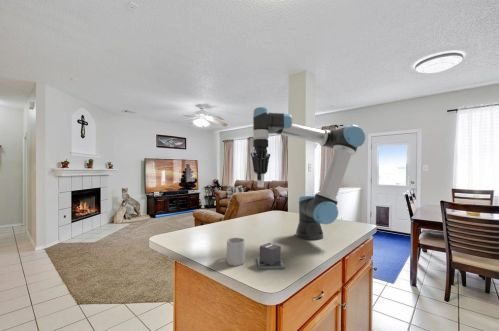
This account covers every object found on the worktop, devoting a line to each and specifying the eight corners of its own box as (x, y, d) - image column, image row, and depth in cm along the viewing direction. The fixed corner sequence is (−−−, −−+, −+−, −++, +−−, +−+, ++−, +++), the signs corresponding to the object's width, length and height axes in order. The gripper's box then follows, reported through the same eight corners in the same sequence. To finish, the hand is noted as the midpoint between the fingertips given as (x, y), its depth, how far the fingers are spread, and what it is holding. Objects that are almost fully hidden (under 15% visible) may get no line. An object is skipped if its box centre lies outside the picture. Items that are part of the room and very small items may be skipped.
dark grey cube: (268, 257, 95) (268, 242, 95) (280, 261, 91) (280, 245, 91) (259, 261, 90) (259, 245, 91) (271, 265, 86) (271, 248, 86)
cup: (230, 267, 87) (230, 244, 87) (222, 258, 96) (222, 237, 96) (247, 264, 90) (247, 241, 90) (238, 255, 99) (238, 235, 99)
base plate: (280, 258, 96) (280, 248, 96) (285, 268, 86) (285, 256, 86) (256, 259, 95) (256, 248, 95) (258, 269, 85) (258, 257, 85)
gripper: (263, 141, 119) (263, 186, 119) (246, 138, 110) (246, 187, 109) (274, 140, 114) (274, 186, 113) (258, 137, 104) (257, 188, 104)
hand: (260, 186), depth 111 cm, fingers closed
